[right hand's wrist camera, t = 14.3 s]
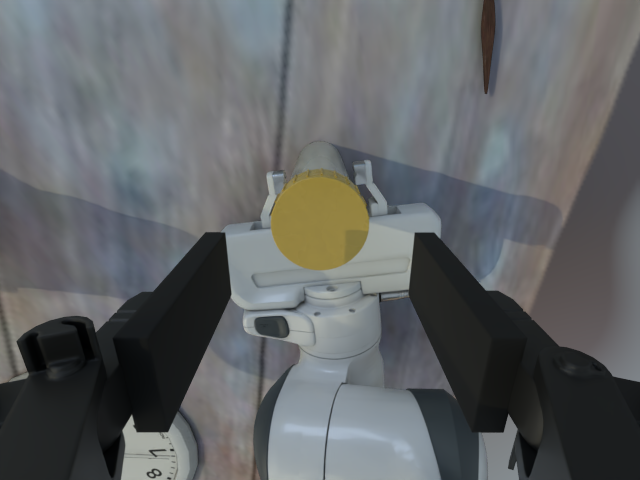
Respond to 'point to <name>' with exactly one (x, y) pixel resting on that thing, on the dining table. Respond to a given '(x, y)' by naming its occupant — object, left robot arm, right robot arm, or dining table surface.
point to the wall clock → (157, 451)
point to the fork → (487, 38)
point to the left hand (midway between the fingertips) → (318, 166)
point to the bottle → (320, 159)
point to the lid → (320, 220)
